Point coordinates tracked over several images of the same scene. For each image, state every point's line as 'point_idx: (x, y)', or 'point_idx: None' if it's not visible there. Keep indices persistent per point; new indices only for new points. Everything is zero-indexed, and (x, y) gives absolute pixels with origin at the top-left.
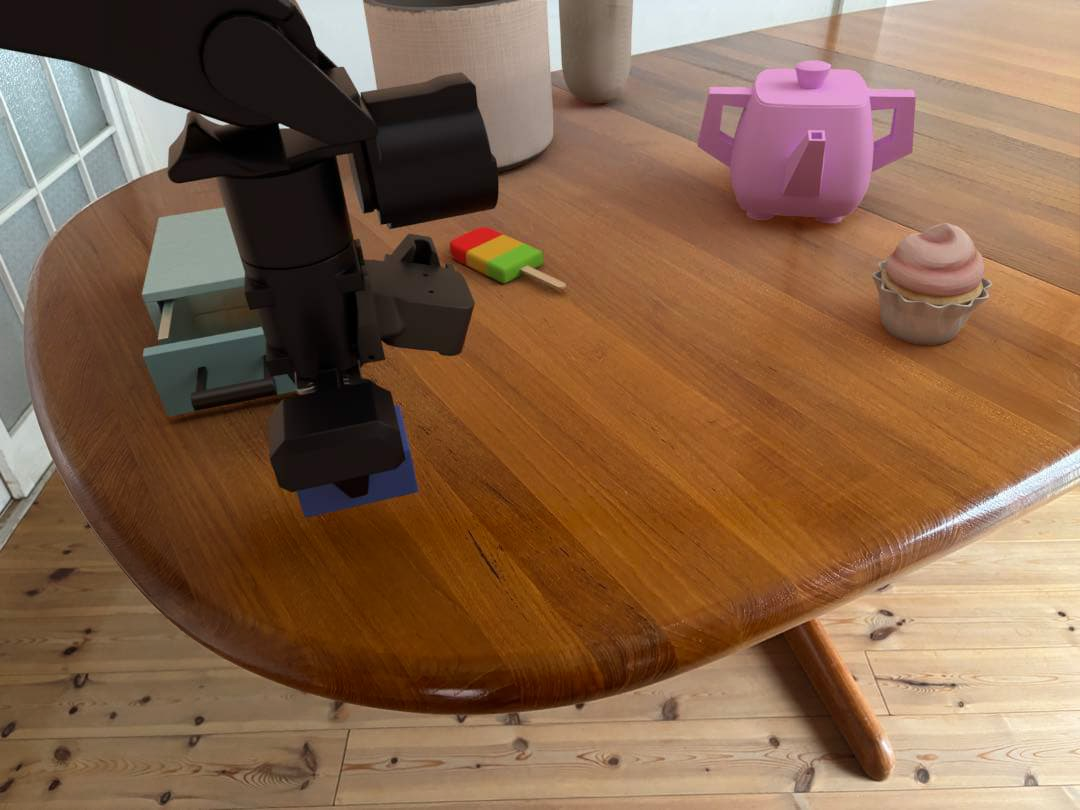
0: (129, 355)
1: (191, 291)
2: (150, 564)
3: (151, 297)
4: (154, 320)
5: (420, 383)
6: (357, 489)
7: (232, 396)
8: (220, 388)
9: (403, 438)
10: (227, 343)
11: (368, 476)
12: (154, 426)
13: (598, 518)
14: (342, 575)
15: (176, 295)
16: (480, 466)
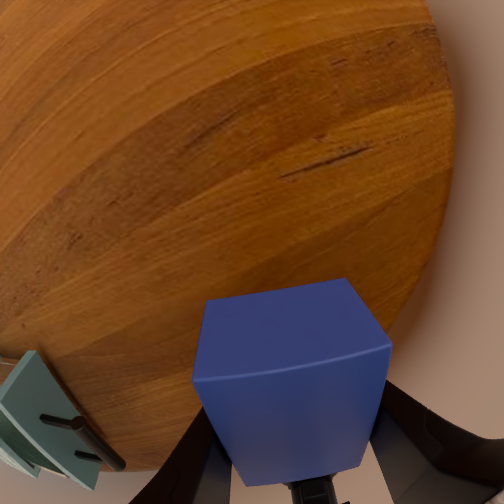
0: None
1: (15, 456)
2: None
3: (34, 473)
4: None
5: (9, 249)
6: None
7: (106, 451)
8: (102, 459)
9: (349, 363)
10: (53, 455)
11: (397, 388)
12: (113, 444)
13: (285, 12)
14: None
15: (23, 462)
16: (147, 157)
